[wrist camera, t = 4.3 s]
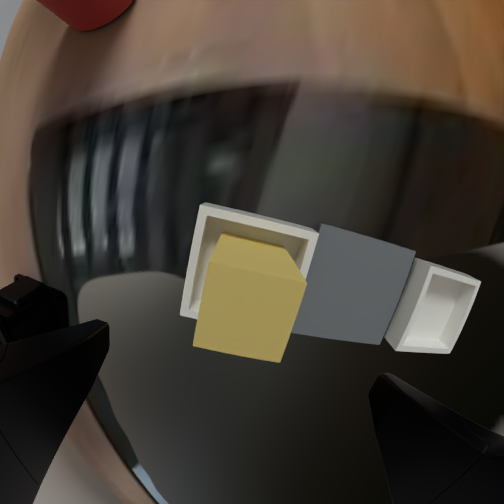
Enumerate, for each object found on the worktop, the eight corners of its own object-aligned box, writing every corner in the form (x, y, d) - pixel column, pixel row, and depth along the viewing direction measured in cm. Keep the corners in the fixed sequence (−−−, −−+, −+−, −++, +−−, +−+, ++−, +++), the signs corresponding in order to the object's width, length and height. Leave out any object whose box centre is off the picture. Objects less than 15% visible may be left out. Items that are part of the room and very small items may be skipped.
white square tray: (437, 342, 21) (449, 353, 19) (384, 337, 20) (395, 350, 18) (466, 274, 19) (481, 281, 17) (415, 257, 19) (430, 265, 17)
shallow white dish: (282, 321, 20) (286, 337, 17) (186, 301, 19) (179, 315, 17) (310, 227, 18) (319, 233, 16) (205, 202, 17) (200, 204, 15)
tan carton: (267, 302, 19) (279, 363, 12) (209, 289, 18) (192, 347, 12) (284, 245, 18) (307, 283, 11) (222, 231, 17) (208, 261, 11)
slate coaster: (377, 341, 20) (379, 344, 20) (287, 328, 20) (287, 332, 19) (412, 249, 18) (415, 251, 18) (319, 222, 18) (321, 223, 17)
